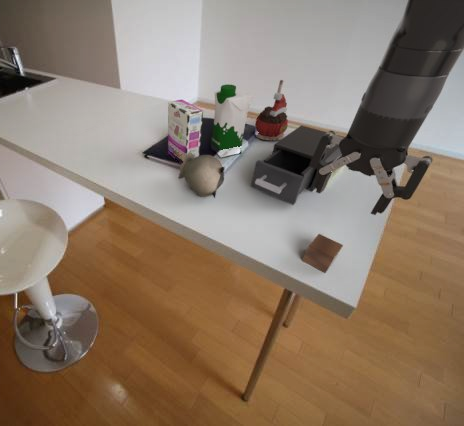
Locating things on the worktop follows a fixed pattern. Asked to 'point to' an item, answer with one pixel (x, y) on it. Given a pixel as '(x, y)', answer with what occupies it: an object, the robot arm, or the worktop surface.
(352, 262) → the worktop surface
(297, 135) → the cabinet
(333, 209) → the worktop surface
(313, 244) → the block
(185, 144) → the candy bar box
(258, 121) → the cake
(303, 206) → the worktop surface
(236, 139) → the milk carton
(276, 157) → the drawer
